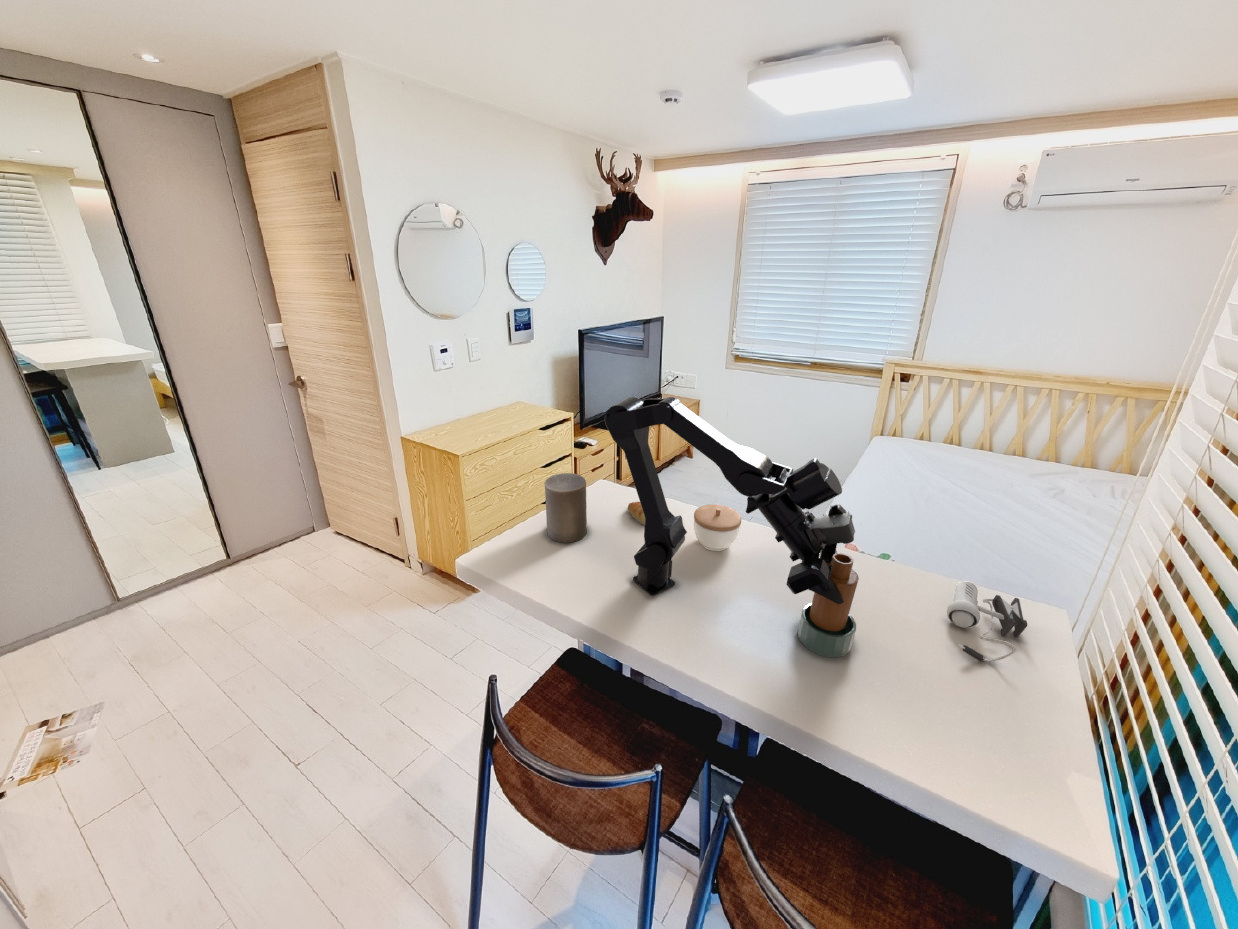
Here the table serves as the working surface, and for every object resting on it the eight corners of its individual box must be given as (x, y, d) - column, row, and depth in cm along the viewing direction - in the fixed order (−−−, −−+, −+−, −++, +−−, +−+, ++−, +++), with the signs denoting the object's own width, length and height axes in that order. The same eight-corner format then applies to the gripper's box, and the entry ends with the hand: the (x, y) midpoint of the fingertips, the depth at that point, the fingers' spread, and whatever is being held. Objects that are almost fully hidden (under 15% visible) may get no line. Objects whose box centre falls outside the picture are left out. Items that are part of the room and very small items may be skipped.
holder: (831, 666, 85) (837, 645, 83) (787, 634, 92) (791, 614, 90) (861, 643, 90) (866, 623, 88) (816, 614, 96) (820, 595, 95)
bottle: (819, 632, 86) (835, 570, 80) (803, 609, 91) (817, 549, 86) (852, 630, 87) (870, 568, 81) (834, 606, 92) (849, 547, 87)
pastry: (621, 512, 130) (621, 499, 129) (640, 505, 135) (640, 492, 133) (645, 527, 124) (646, 514, 123) (665, 519, 128) (666, 506, 127)
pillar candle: (595, 531, 122) (595, 476, 116) (565, 548, 115) (564, 490, 109) (567, 517, 128) (566, 464, 122) (538, 532, 121) (535, 476, 115)
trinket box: (696, 528, 124) (699, 494, 120) (740, 537, 121) (745, 502, 117) (687, 551, 115) (690, 515, 111) (734, 561, 112) (739, 525, 108)
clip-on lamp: (1013, 689, 85) (1016, 612, 97) (1032, 669, 81) (1032, 591, 93) (936, 655, 90) (947, 586, 102) (949, 634, 86) (960, 565, 98)
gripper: (823, 524, 73) (887, 609, 73) (836, 476, 88) (889, 546, 89) (761, 554, 80) (820, 632, 80) (783, 504, 95) (833, 569, 95)
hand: (843, 592), depth 86 cm, fingers closed on bottle, 6 cm apart
